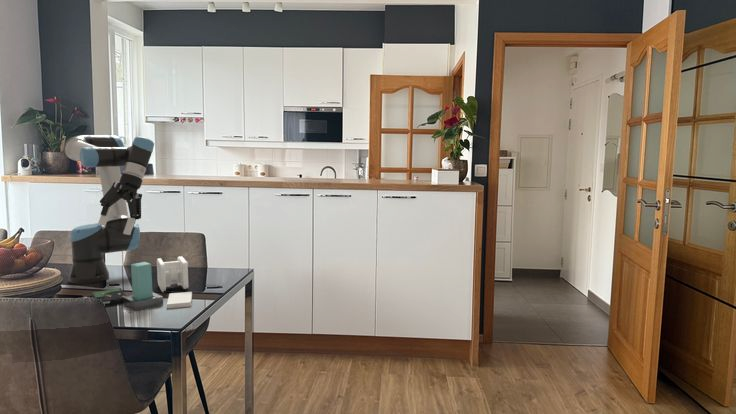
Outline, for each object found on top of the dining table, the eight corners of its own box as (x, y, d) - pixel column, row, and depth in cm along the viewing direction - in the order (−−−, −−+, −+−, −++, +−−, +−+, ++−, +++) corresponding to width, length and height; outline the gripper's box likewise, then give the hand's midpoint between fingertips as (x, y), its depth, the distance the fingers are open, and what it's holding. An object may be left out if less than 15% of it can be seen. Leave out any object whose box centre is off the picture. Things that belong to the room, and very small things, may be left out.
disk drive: (128, 304, 190) (121, 294, 202) (128, 296, 190) (120, 287, 202) (96, 309, 184) (91, 298, 196) (96, 301, 184) (90, 291, 196)
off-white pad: (169, 297, 197) (169, 293, 196) (192, 295, 199) (191, 291, 199) (167, 308, 183) (166, 304, 183) (191, 306, 186) (190, 302, 185)
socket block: (123, 305, 187) (122, 296, 187) (150, 299, 194) (150, 291, 194) (135, 311, 180) (134, 302, 180) (163, 304, 188) (162, 296, 187)
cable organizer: (157, 285, 214) (155, 257, 213) (184, 281, 219) (182, 254, 218) (161, 294, 201) (160, 264, 200) (190, 290, 206) (188, 261, 204)
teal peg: (133, 305, 187) (130, 264, 185) (147, 301, 191) (144, 261, 189) (139, 307, 184) (137, 266, 182) (153, 304, 188) (151, 263, 186)
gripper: (118, 165, 185) (99, 221, 180) (160, 188, 208) (144, 239, 203) (101, 162, 187) (81, 219, 182) (144, 186, 210) (128, 236, 205)
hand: (114, 229), depth 192 cm, fingers open, 13 cm apart
